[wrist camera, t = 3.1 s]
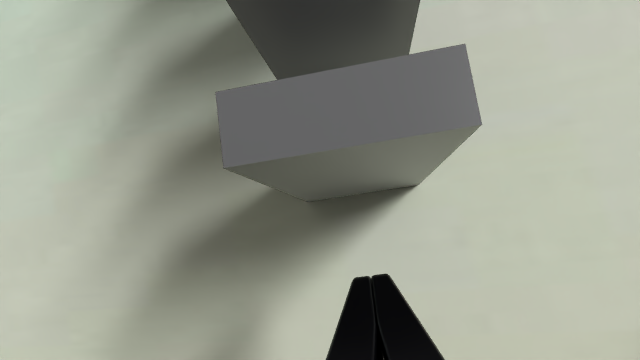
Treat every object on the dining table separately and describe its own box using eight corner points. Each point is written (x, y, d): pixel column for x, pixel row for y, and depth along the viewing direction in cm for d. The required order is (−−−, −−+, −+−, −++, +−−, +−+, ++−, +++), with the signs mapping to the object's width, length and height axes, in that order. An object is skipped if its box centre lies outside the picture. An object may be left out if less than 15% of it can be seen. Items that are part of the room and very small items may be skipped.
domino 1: (401, 87, 18) (438, -91, 8) (295, 107, 18) (203, -36, 8) (395, 55, 18) (424, -159, 8) (290, 75, 18) (196, -101, 9)
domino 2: (418, 184, 17) (481, 124, 7) (307, 201, 17) (223, 168, 8) (412, 149, 17) (465, 43, 7) (302, 167, 18) (215, 92, 8)
